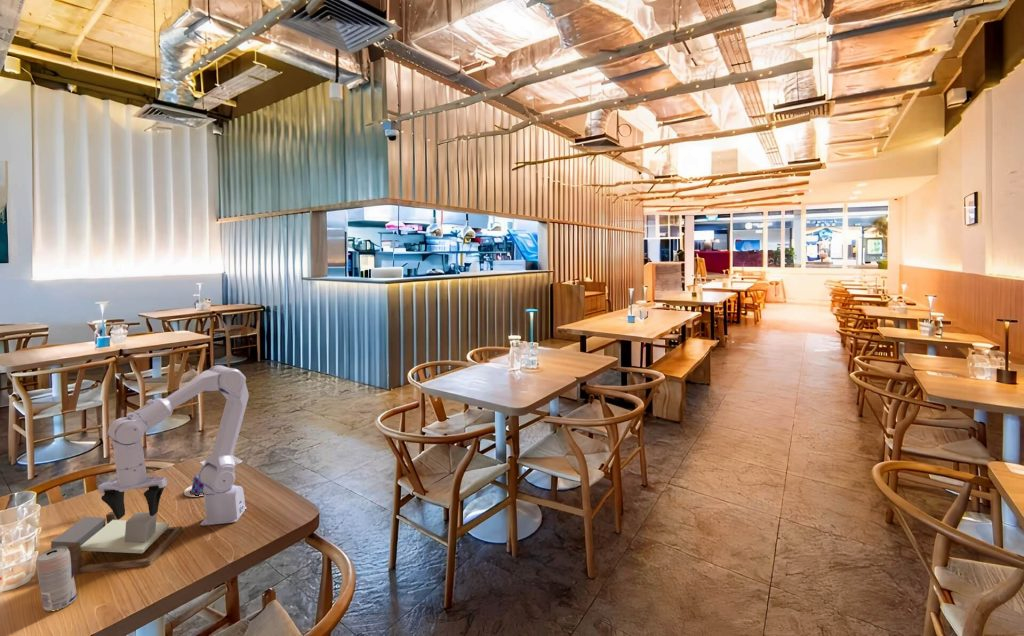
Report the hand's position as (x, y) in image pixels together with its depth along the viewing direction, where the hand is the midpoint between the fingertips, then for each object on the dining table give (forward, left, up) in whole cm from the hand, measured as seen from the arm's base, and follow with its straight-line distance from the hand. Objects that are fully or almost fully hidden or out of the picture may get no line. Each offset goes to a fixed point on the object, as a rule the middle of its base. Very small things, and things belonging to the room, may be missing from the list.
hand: (137, 515), depth 121 cm
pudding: (0, -34, -10) cm, 35 cm away
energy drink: (+7, +18, -10) cm, 21 cm away
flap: (+7, -1, -6) cm, 10 cm away
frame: (+6, -1, -10) cm, 12 cm away
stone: (0, 0, -6) cm, 6 cm away
